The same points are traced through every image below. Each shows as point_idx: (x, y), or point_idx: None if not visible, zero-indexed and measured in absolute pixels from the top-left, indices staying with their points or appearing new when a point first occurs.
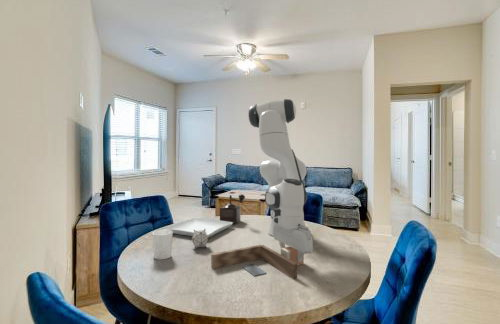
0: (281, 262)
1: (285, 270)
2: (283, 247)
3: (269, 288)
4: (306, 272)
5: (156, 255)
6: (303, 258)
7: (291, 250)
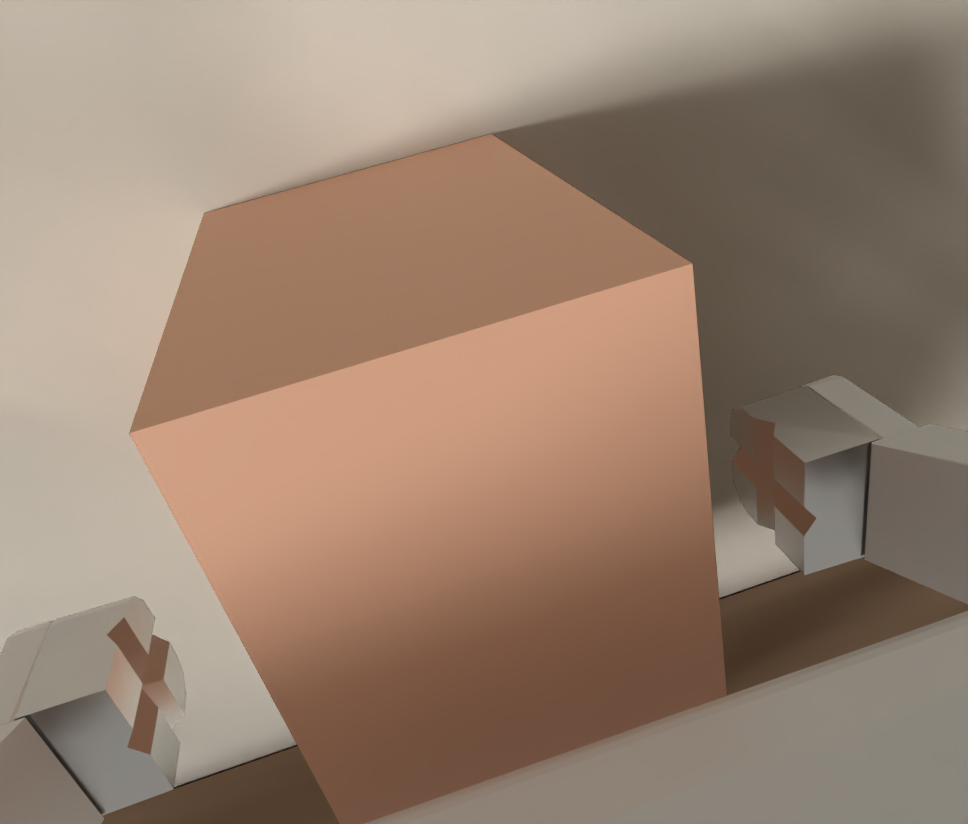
0: None
1: None
2: (40, 818)
3: None
4: (902, 287)
5: None
6: (536, 167)
7: None
